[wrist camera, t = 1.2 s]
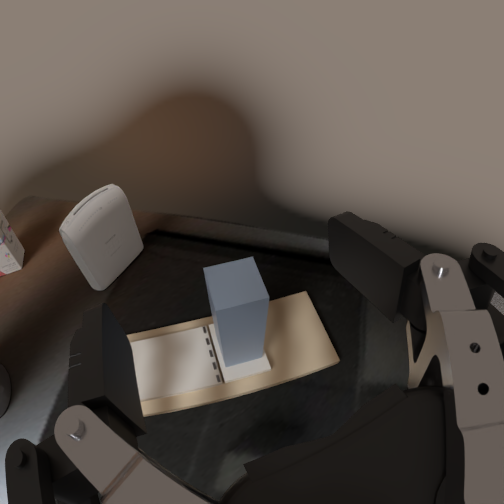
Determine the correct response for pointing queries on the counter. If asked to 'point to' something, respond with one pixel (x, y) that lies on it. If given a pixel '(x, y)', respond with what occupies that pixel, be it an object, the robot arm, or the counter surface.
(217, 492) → the counter surface
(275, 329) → the perforated strip board
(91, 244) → the photo printer
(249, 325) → the panel
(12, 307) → the counter surface
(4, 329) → the counter surface
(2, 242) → the ink cartridge box
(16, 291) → the counter surface
